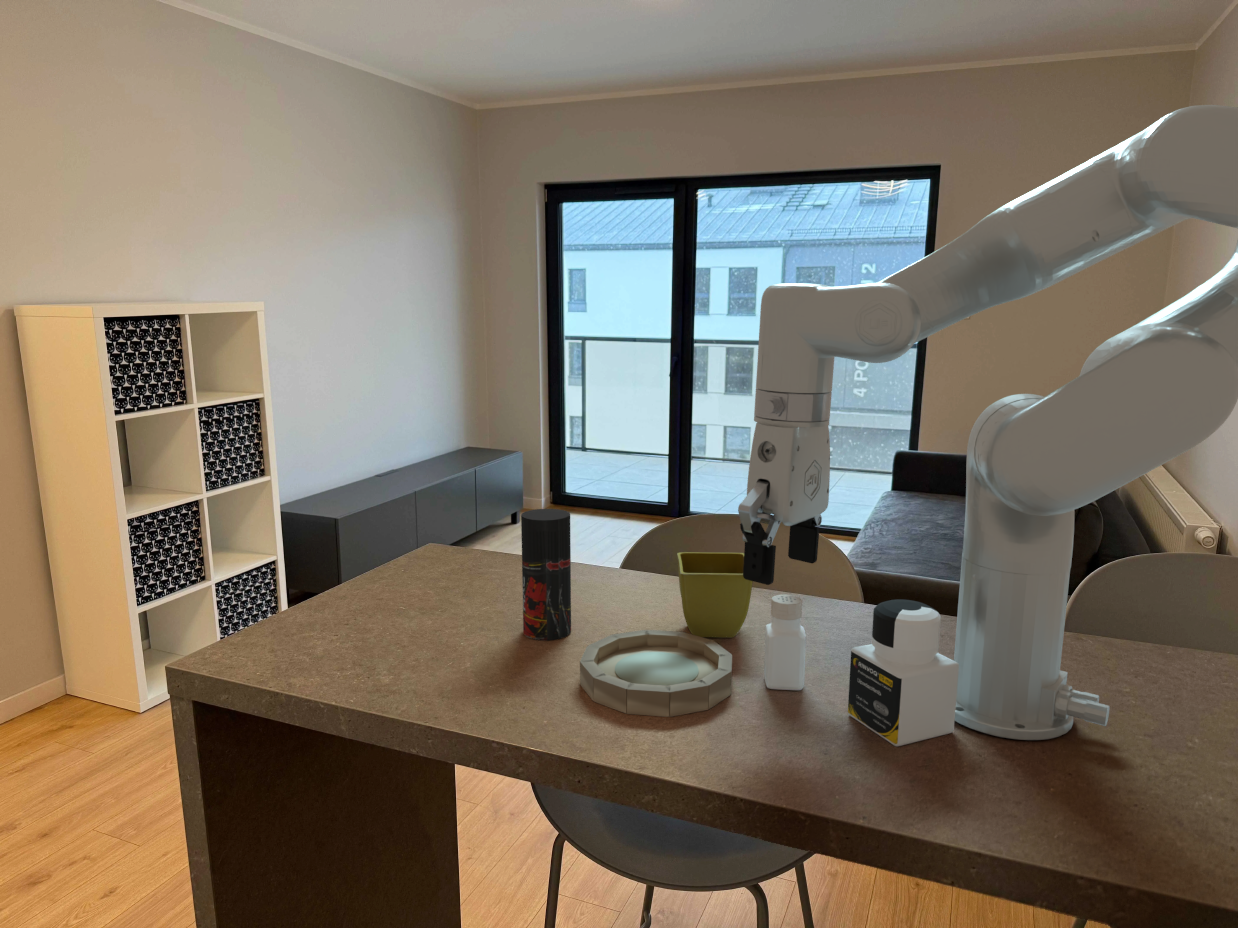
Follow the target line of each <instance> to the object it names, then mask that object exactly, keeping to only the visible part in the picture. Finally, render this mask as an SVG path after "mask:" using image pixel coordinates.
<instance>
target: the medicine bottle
mask: <svg viewBox="0 0 1238 928" xmlns="http://www.w3.org/2000/svg"><path fill="white" fill-rule="evenodd" d="M872 615H873V616H872V632H871V634H872V635H871V643H870V644H865V645H859V646H853V647H852V648H851V650H850V665H849V666H850V667H849V685H848V699H847V700H848V701H847V702H848V704H847V714H848V715H849V717H851V718H853V719H854V720H856V721H857V722H859V723H860V724H862V725H864V726H865V727H866V728H867V729H869V730H871V731H872V732H874V733H875V734H876V735H878V736H880V737H881V738H882V739H883V740H884V741H887V742H888V743H890V744H891V745H893V746H894V747H901V746H905V745H909V744H914V743H916V742H921V741H925V740H928V739H932V738H937V737H940V736H945V735H948V734H949V735H950V734H952V733H953V732H954V731H955V723H956V721H955V709H956V697H957V684H958V671H959V664H958V663H957V662H956V661H954V659H951V658H949V657H947V656H946V655H944V654H941V653H939V645H940V635H941V633H940V632H941V622H942V621H941V620H942V616H941V614H940V613H939V611H938V610H936V609H935V608H934V607H932V606H930V605H928V604H926V603H924V602H921V601H916V600H911V599H900V598H899V599H896V598H895V599H891V600H890V599H889V600H886V601H882V602H879V603H878V604H877V605H876V606H875V607H873V613H872Z"/></svg>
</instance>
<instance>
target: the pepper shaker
mask: <svg viewBox="0 0 1238 928" xmlns="http://www.w3.org/2000/svg"><path fill="white" fill-rule="evenodd" d="M770 602H771V603H770V616H771V622H769V623H768V624H765V627H764V628H765V629H764V630H765V633H764V636H765V637H764V658H763V659H764V661H763V663H764V664H763V675H764V681H765V685H766V688H767V689H771V690H781V691H782V690H784V691H785V690H787V691H801V690H803V688H804V686H805V675H806V674H805V671H806V670H805V669H806V650H807V636H806V635H807V634H806V631H805V627H804V626H802V625H801V619H802V616H803V615H802V613H803V599H802V598H801V597H799V596H796V595H793V594H787V593H785V594H777V595H774V596H772V598H771V599H770Z"/></svg>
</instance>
